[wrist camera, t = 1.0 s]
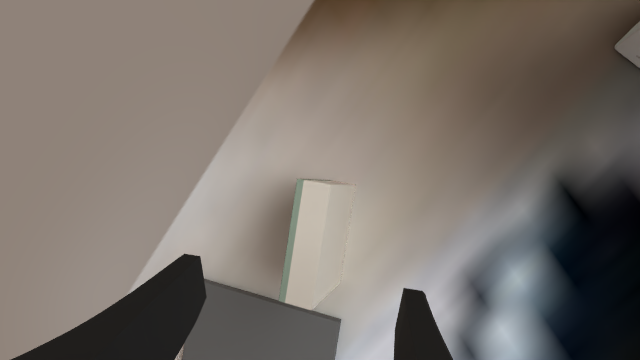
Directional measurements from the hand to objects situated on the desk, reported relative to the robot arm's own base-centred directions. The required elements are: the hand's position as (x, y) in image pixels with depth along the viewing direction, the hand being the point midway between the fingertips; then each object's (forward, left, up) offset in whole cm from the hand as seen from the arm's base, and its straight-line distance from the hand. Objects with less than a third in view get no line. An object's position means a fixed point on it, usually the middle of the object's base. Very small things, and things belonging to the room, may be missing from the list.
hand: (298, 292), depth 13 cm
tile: (0, +3, -13) cm, 13 cm away
